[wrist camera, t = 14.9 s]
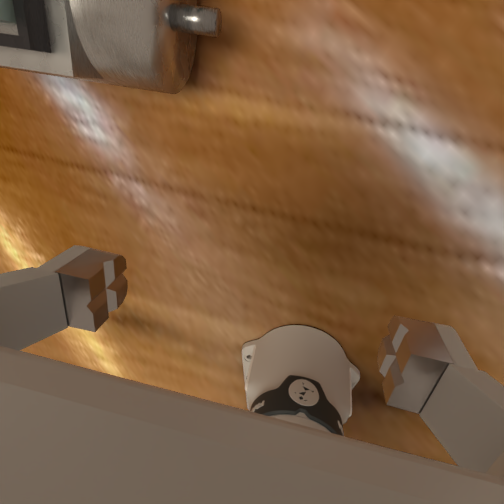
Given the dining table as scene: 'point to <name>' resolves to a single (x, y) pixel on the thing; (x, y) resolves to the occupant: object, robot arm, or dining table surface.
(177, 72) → the motor
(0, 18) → the block
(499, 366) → the dining table surface
